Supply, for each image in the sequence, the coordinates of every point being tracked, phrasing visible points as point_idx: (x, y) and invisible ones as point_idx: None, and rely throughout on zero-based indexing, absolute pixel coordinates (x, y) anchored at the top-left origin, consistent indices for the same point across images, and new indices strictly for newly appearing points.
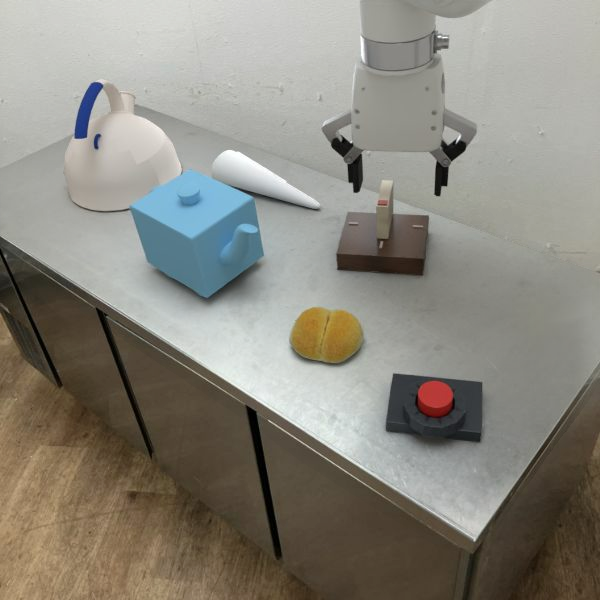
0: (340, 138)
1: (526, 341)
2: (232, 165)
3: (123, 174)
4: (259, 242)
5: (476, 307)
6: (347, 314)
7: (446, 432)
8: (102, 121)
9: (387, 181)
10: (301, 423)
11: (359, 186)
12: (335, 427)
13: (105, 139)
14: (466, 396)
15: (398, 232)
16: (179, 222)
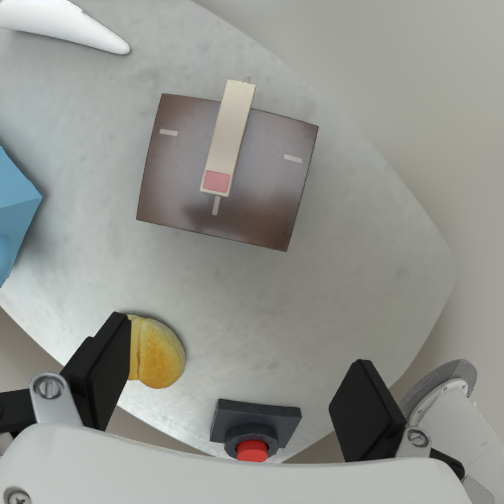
0: (2, 446)
1: (365, 358)
2: (10, 14)
3: None
4: (24, 204)
5: (335, 311)
6: (162, 354)
7: None
8: None
9: (240, 87)
10: (139, 417)
11: (125, 378)
12: (168, 424)
13: None
14: (282, 428)
15: (253, 169)
16: None
